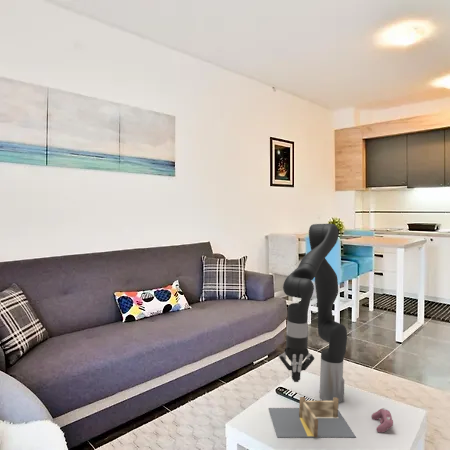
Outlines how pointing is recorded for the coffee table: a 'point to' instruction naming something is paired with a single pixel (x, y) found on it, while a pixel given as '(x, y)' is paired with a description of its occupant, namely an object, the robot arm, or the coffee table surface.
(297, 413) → the card
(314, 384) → the coffee table surface
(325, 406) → the wooden toy fence
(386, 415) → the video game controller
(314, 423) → the fence panel
